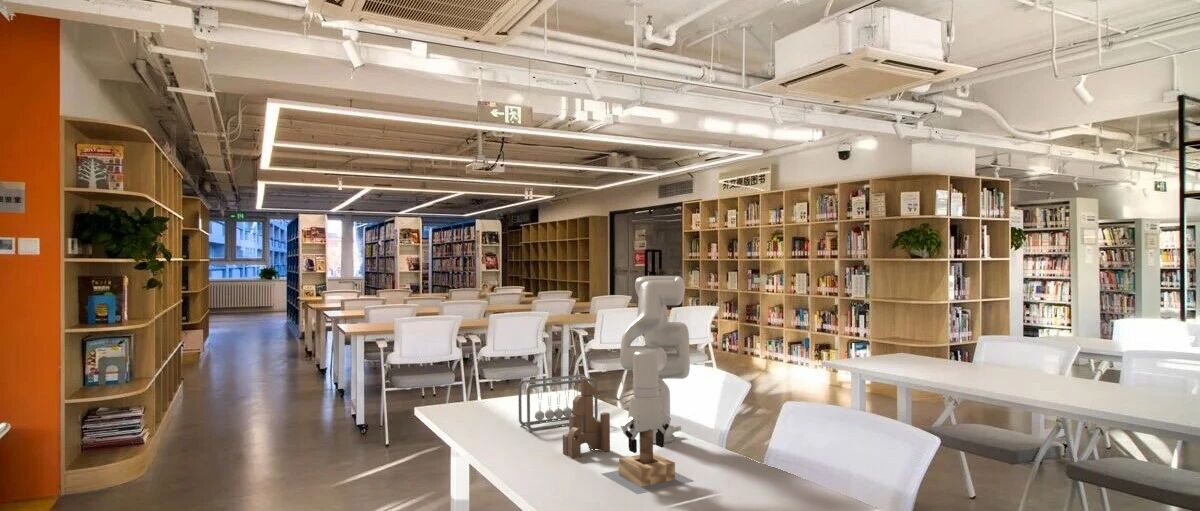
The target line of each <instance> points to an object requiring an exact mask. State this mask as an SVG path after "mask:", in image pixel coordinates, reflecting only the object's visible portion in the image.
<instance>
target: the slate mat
mask: <svg viewBox="0 0 1200 511" xmlns="http://www.w3.org/2000/svg"><path fill="white" fill-rule="evenodd" d="M601 475H602V476H604V477H606V478H608V479H609V480H611V481H612V482H615V483H616V484H619V485H620V486H622V487H624V488H625V489H628V490H629V491H631V492H633V493H634V494H636V495H640V494H643V493H648V492H652V491H657V490H661V489H665V488H666V489H667V488H670V487H674V486H675V487H676V486H679V485H684V484H688V483H693V482H694V480H693V479H692V478H688V477H686V476H685V475H682V474H681V473H678V472H677V471H675V480H670V481H666V482H661V483H657V484H653V485H648V486H644V487H640V486H638V485H637V484H635V483H633V482H631V481H629V480H627V479H625V478H624V477H622V476H620V475H619V469H617V470H612V471H608V472H603V473H602V472H601Z"/></svg>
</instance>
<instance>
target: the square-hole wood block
mask: <svg viewBox="0 0 1200 511" xmlns="http://www.w3.org/2000/svg"><path fill="white" fill-rule="evenodd" d="M618 470H619V475H620V476H622V477H624V478H625V479H627V480H629V481H631V482H633V483H635V484H637V485H638V486H640V487H644V486H648V485H653V484H657V483H661V482H666V481H670V480H675V472H676V463H675V462H674V461H672V460H671V459H667V458H665V457H663V456H661V455H659V454H656V453H654V452H653V463H650V464H645V465H644V464H642V463H640V454H637V455H636V454H635V455H631V456H626V457H620V458H618Z"/></svg>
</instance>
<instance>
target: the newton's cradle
mask: <svg viewBox="0 0 1200 511" xmlns="http://www.w3.org/2000/svg"><path fill="white" fill-rule="evenodd" d="M581 378H584V379H586V380H587V381H588V382H593V383H594V384H593V385H594V388H595V389H596V390H597V391H598V381H597V379H595V378H594V377H588V376H586V375H585V374H574V375H573V374H571V375H563V376H555V377H554V376H553V377H543V378H534V379H533V378H532V379H523V380H521V381H520V382H519V383H518V388H517V389H518V422H519V424H520V425H522V426H526V427H527V429H528V430H529V431H531V430H534V431H540V430H539V429H542V430H545V428H549V429H552V428H551V427H556V426H562V425H569V422H565V423H557V424H551V425H550V424H549V425H543V426H535V427H531V425H535V424H534V423H537V424H541V423H540V422H545V423H547V422H546V421H552V420H558V419H567V420H569V415H572V414H573V407H572V408H571V407H569V405H568V399H565V404H566V407H564V408H563V410H562V409H561V408H560V407H557V408H555V409H554V410H552V409H551V408H548V409H547V410H546V411H545V412H544V411H542V410H541V408H542V407H541V406H542V405H541V404H542V403H539V407H538V411H536V412H535V414H534V418H535V419H536V420H532V421H531V389H532V388H537V392H538V393H537V394H538V397H537V398H540V399H542V397H543V392H541V394H540V391H539V387H541V388H543V387H546V389H547V392H549V388H548V386H551V387H550V389H552V388H553V386H555V388H556V389H555V391H556V392H558V388H557V385H559V388H561V385H567V384H568V385H569V384H572V385H573V386H575V384H579V383H581ZM561 380H562V381H561ZM541 382H543V383H541ZM531 383H532V384H531ZM523 384H526V385H528V386H527V388H526V421H523V420H522V419H523V418H522V416H523V414H522V412H523V411H522V410H523V409H522V386H523ZM576 387H577V390H576V393H578V389H579V386H576ZM566 390H567V389H566V388H564V391H565V394H567V393H568V395H567V398H569V396H570V391H568V392H567V391H566ZM576 393H575V391H573V394H574V395H573V396H574V397H573V398H575V397H576ZM539 394H540V395H539ZM560 397H561V394H559V397H558V398H559V399H558V398H556V401H557V404H559V402H561V399H560ZM547 399H548V400H547V402H548V404H549V405H551V402H552V401H551V400H552V397H550V398H549V397H547ZM598 406H599V405H598V395H594V418H595V420H596V421H598V416H599V414H598V413H599V412H598V409H599V408H598ZM544 418H545V419H544ZM552 422H553V421H552ZM556 428H557V427H556Z"/></svg>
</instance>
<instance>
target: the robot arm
mask: <svg viewBox="0 0 1200 511" xmlns="http://www.w3.org/2000/svg"><path fill="white" fill-rule="evenodd" d="M685 286H686V285H685V281H684V278H682V277H681V276H679V275H645V276H640V277H638V278H636V280H635V282H634V288H635V292H636V295H637V298H638V301H637V302H638V303H637V304H638V305H637V306H638V307H637V318H636V319H635V320H634V321H633V322H632V323H631V324H630V325H629V326H628V327H627V328H626V330H625V331H624V333H623V334H622V338H621V342H620V343H621V344H620V345H621V346H620V353H619V355H620V356H619V357H620V358H619V361H620V362H619V363H620V365H621V368H623V369H624V370H627V371H632V376H633V377H632V380H633V382H632V383H633V385H632V386H633V388H632V389H633V390H632V391H633V393H632V394H633V395H632V396H631V397H630V401H629V404H628V414H627V415H628V418H627V420H625V421H624V422H623V423H622V424H620V428H621V430H622V431H623V434H624V435H625V436H626V437H627V438H628V450H629V451H630V452H631V453H634V454H636V453H637V452H638V449H637V448H638V440H637V439H636V437H637V436H638V434H639V432H645V431H648V430H649V429H651V430H653V445H654V444H655V445H656V447H659V448H664V447H665V444H670V443H672V442H674V441H675V439H676V438H675V435H674V434H675V432H676V433H679V432H682V427H681V425H676V426H674V425H671V419H672V418H671V392H670V387H669V386H668V385H667V383H666V382H665V381H664V380H665V379H669V380H670V379H671V380H672V379H673V380H674V379H676V380H679V379H680V380H683V379H686V378H687V377H688V376H689V374H690V371H691V370H690V360H691V359H690V333H689V329H688V326H687V324H685V323H684V322H681V321H679V322H678V321H669V319H668V317H669V315H668V314H669V313H668V312H669V310H668V307H667V306H679V305H681V304H682V303H683V300H684V297H685V293H686V292H685V291H686V287H685ZM643 335H644V342H645V345H632V343H633V342H634V340H636V339H637V338H639V337H641V336H643ZM665 349H667V350H668V349H669V350H671V349H672V350H675V351H665ZM663 379H664V380H663Z"/></svg>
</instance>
